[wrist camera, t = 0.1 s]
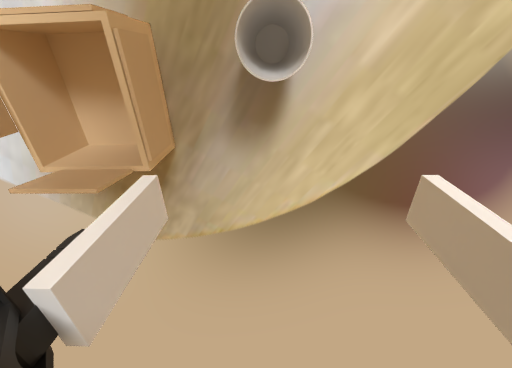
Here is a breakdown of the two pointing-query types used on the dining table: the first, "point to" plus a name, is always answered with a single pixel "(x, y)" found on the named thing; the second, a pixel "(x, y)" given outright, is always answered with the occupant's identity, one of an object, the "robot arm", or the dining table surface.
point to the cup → (273, 38)
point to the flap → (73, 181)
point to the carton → (84, 88)
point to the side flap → (6, 122)
